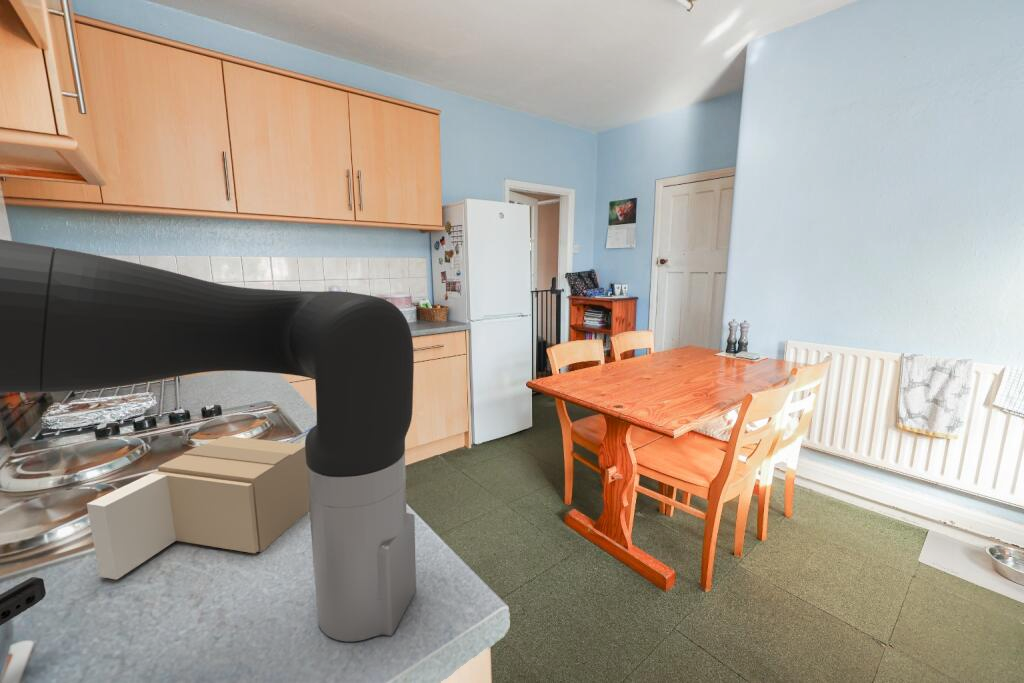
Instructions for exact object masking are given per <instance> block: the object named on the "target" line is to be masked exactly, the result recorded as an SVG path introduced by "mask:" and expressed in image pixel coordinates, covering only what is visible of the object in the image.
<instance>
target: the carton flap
mask: <svg viewBox="0 0 1024 683" xmlns="http://www.w3.org/2000/svg"><path fill="white" fill-rule="evenodd" d="M86 507H87V509H86V510H87V513H88V519H89V520H88V521H89V524H90V525H89V526H90V531H91V536H92V540H93V541H92V542H93V547H94V554H95V559H96V564H97V570H98V575H99V577H101V578H106V579H112V580H115V581H116V580H118V579H120V578H122V577H123V576H124V575H126V574H128V573H129V572H131V571H132V570H134V569H136V568H137V567H138V566H140V565H142V564H143V563H145V562H146V561H147V560H149V559H150V558H152V557H153V556H155V555H156V554H158V553H159V552H161V551H162V550H164V549H165V548H167V547H169V546H170V545H171V544H173V543H175V542H183V543H189V544H194V545H201V546H206V547H207V546H208V547H213V548H220V549H226V550H230V551H231V550H233V551H239V552H244V553H245V552H246V553H250V554H257V553H258V552H257V551H259V547H258V537H257V527H256V517H255V506H254V496H253V486H252V484H251V483H243V482H236V481H228V480H220V479H212V478H205V477H197V476H189V475H182V474H174V473H166V472H159V471H158V470H155V471H153V472H151V473H149V474H146V475H145V476H142V477H140V478H139V479H136V480H134V481H131V482H130V483H128V484H125V485H124V486H121V487H119V488H117V489H115V490H113V491H110V492H109V493H106V494H105V495H102V496H100V497H98V498H96V499H93V500H92V501H89V502H87V503H86Z"/></svg>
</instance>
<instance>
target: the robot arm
mask: <svg viewBox="0 0 1024 683" xmlns="http://www.w3.org/2000/svg"><path fill="white" fill-rule="evenodd" d="M412 335H413V334H412V332H411V328H410V325H409V322H408V320H407V318H406V316H405V315H404V313H403V312H402V310H400V308H398V306H397V305H395V304H393V303H392V302H390V301H389V300H386V299H384V298H381V297H378V296H374V295H370V294H362V293H357V292H349V291H339V290H338V291H335V290H334V291H333V290H332V291H331V290H330V291H328V290H327V291H309V290H308V291H307V290H305V291H304V290H283V289H282V290H281V289H268V288H267V289H264V288H263V289H262V288H254V287H253V288H252V287H241V286H235V285H234V286H233V285H228V284H222V283H218V282H212V281H208V280H205V279H200V278H196V277H193V276H188V275H184V274H181V273H177V272H173V271H169V270H166V269H161V268H157V267H153V266H149V265H145V264H139V263H136V262H131V261H127V260H121V259H117V258H114V257H113V258H112V257H108V256H103V255H102V256H101V255H98V254H91V253H86V252H82V251H78V250H77V251H76V250H72V249H71V250H70V249H64V248H58V247H57V248H55V247H53V246H46V245H41V244H34V243H27V242H20V241H13V240H8V239H7V240H6V239H0V394H3V393H4V394H5V393H7V394H8V393H11V394H12V393H13V394H14V393H60V392H63V393H64V392H77V391H78V392H79V391H91V390H101V389H107V388H109V389H110V388H116V387H122V386H131V385H137V384H143V383H148V382H155V381H160V380H166V379H173V378H177V377H182V376H188V375H194V374H195V375H196V374H199V373H200V374H201V373H210V372H211V373H212V372H223V371H224V372H227V371H231V372H232V371H233V372H237V371H239V372H256V373H269V374H270V373H273V374H283V375H289V376H297V377H303V378H309V379H312V380H314V381H315V400H316V401H315V403H316V404H315V406H316V424H315V425H314V426H313V427H311V428H312V429H311V428H310V429H311V430H310V431H309V432H308V434H307V436H306V439H305V453H306V464H307V479H308V493H309V508H310V510H309V518H310V519H309V520H310V521H309V522H310V532H311V533H310V534H311V546H312V547H311V549H312V550H311V551H312V561H313V575H314V576H313V577H314V586H315V587H314V588H315V601H316V615H317V616H316V617H317V622H318V626H319V628H320V629H321V631H322V633H324V634H325V635H326V636H327V637H329V638H332V639H334V640H336V641H341V642H358V641H363V640H364V641H365V640H369V639H370V638H374V637H377V636H380V635H384V636H385V635H386V636H392V635H393V634H394V632H395V631H396V629H397V627H398V625H399V623H400V621H401V620H402V618H403V616H404V614H405V612H406V610H407V608H408V607H409V605H410V603H411V601H412V599H413V598H414V596H415V594H416V592H417V570H416V569H417V568H416V566H417V565H416V563H417V562H416V532H415V531H416V527H415V526H416V525H415V523H416V522H415V520H416V519H415V514H413V513H410V512H409V513H408V512H407V487H406V486H407V485H406V484H407V483H406V482H407V481H406V480H407V478H406V476H407V475H406V436H407V433H408V432H409V429H410V427H411V423H412V418H413V407H414V406H413V403H414V372H415V371H414V368H415V367H414V366H415V364H414V362H415V361H414V357H415V356H414V353H415V352H414V342H413V336H412ZM46 594H47V592H46V586H45V580H44V579H43V578H41V577H37V576H32V577H30V578H28V579H25V580H24V581H22V582H20V583H18V584H17V585H15V586H13V587H11V588H9V589H8V590H5V591H4V592H2V593H0V627H1V626H2V625H3V624H5V623H7V622H9V621H11V620H13V618H16V617H17V616H19V615H21V613H23V612H26V611H28V609H31V608H32V607H34V606H35V605H37V604H38V603H39V602H40V601H42V600H43V599H44V598H45V597H46Z"/></svg>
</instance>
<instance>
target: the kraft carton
mask: <svg viewBox="0 0 1024 683" xmlns="http://www.w3.org/2000/svg"><path fill="white" fill-rule="evenodd" d="M286 442H287V441H286ZM286 442H285V441H276V440H266V439H258V438H249V437H239V436H232V435H231V436H228V435H223V436H221V437H218V438H216V439H214V440H211V441H209V442H208V443H202V444H200V445H198V446H195V447H192V448H191V449H189V450H187V451H185V452H183V453H182V454H181V455H179V456H177V457H174V458H173V459H170V460H168V461H166V462H164V463H161V464H160V465H157V471H159V472H166V473H174V474H182V475H189V476H197V477H205V478H212V479H220V480H228V481H236V482H243V483H251V484H252V486H253V496H254V506H255V517H256V527H257V537H258V547H259V551H257V552H256V553H262V552H263V551H265V549H267V548H268V547H269V546H270V545H272V543H273V542H275V541H276V540H277V539H278V538H280V537H281V536H282V535H283V534H284V533H285V532H286V531H288V530H289V529H290V528H291V527H292V526H293V525H294V524H296V523H297V522H298V521H299V520H301V518H302V517H305V515H306V514H307V513H308V512H310V508H309V493H308V479H307V464H306V453H305V444H295V443H286Z"/></svg>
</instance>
